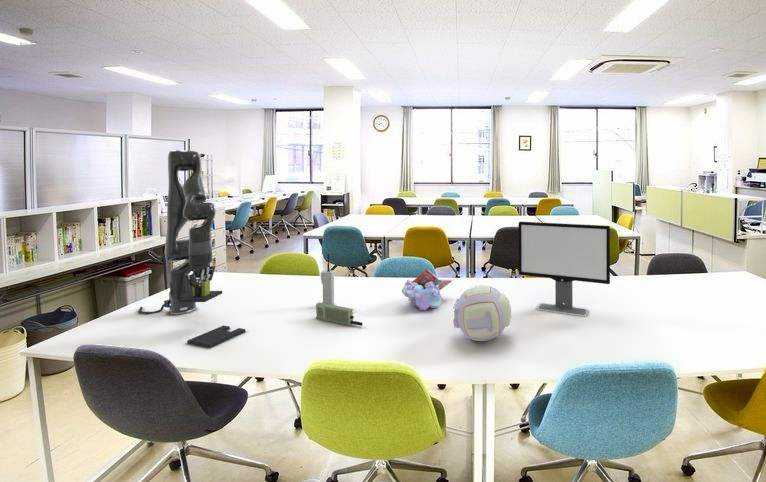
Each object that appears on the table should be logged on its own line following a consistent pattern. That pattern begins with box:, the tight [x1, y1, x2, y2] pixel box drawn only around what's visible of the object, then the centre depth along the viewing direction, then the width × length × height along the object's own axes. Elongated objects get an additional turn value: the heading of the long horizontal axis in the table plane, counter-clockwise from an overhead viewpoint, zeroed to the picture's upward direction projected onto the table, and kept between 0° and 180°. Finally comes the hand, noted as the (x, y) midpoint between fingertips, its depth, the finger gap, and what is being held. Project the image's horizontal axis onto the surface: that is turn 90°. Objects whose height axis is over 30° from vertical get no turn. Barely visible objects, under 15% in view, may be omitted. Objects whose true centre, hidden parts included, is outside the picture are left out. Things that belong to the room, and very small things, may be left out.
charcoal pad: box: [186, 324, 246, 349], centre depth 142 cm, size 12×14×1 cm
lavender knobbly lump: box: [401, 269, 454, 311], centre depth 176 cm, size 20×22×18 cm
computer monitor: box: [518, 221, 611, 317], centre depth 168 cm, size 41×8×40 cm, turn 68°
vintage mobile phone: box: [320, 253, 335, 305], centre depth 174 cm, size 4×5×25 cm
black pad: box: [178, 281, 223, 303], centre depth 148 cm, size 10×13×6 cm
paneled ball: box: [452, 284, 512, 342], centre depth 140 cm, size 21×22×20 cm
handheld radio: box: [315, 302, 363, 327], centre depth 156 cm, size 7×3×25 cm
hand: (201, 294), depth 148 cm, fingers closed on black pad, 2 cm apart
